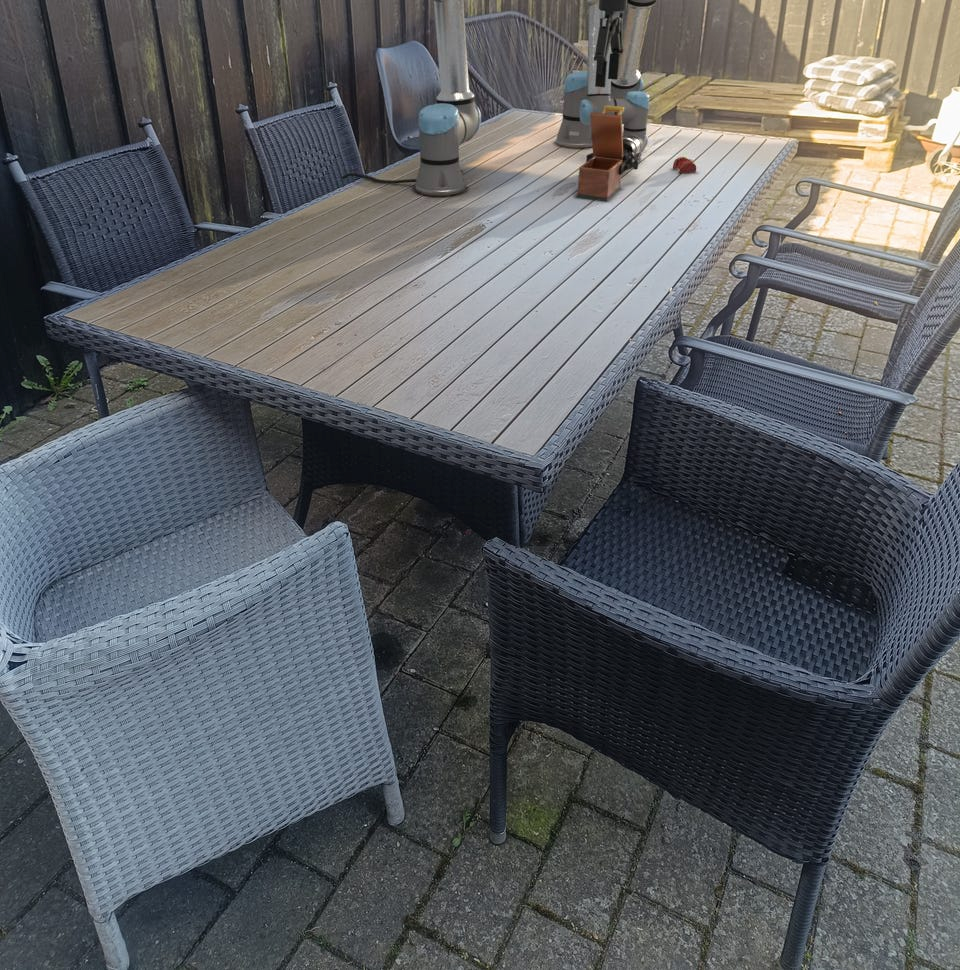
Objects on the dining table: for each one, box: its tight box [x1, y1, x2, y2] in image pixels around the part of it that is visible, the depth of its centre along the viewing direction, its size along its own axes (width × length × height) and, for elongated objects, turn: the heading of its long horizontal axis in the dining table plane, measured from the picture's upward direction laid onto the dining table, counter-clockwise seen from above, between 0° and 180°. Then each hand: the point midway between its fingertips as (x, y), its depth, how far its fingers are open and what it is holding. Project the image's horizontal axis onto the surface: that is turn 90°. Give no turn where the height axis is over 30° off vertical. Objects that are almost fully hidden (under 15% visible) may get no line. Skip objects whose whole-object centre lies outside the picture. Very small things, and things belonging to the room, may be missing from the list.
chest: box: [576, 157, 623, 202], centre depth 253 cm, size 14×9×9 cm
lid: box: [590, 105, 624, 159], centre depth 251 cm, size 14×9×9 cm
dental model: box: [672, 156, 697, 174], centre depth 274 cm, size 6×4×8 cm
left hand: (606, 82), depth 237 cm, fingers open, 11 cm apart
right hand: (604, 168), depth 255 cm, fingers closed on chest, 9 cm apart
